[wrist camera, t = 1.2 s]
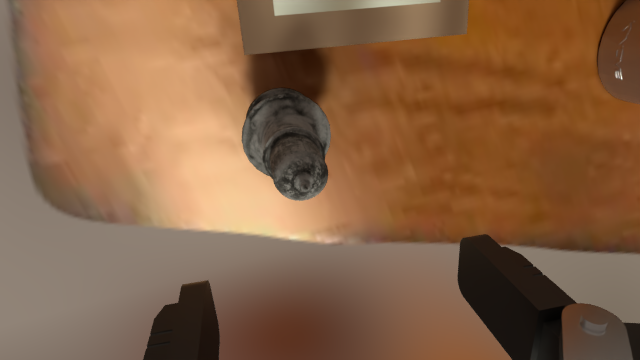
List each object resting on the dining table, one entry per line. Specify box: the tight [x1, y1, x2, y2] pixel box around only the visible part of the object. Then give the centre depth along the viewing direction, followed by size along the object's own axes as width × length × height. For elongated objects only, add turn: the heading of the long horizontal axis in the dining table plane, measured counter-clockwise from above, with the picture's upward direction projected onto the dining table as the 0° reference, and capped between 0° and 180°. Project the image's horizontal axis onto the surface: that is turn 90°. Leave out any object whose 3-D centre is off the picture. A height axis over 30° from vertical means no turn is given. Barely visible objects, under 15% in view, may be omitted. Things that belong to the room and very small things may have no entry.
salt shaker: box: [242, 88, 331, 201], centre depth 25 cm, size 6×6×12 cm
